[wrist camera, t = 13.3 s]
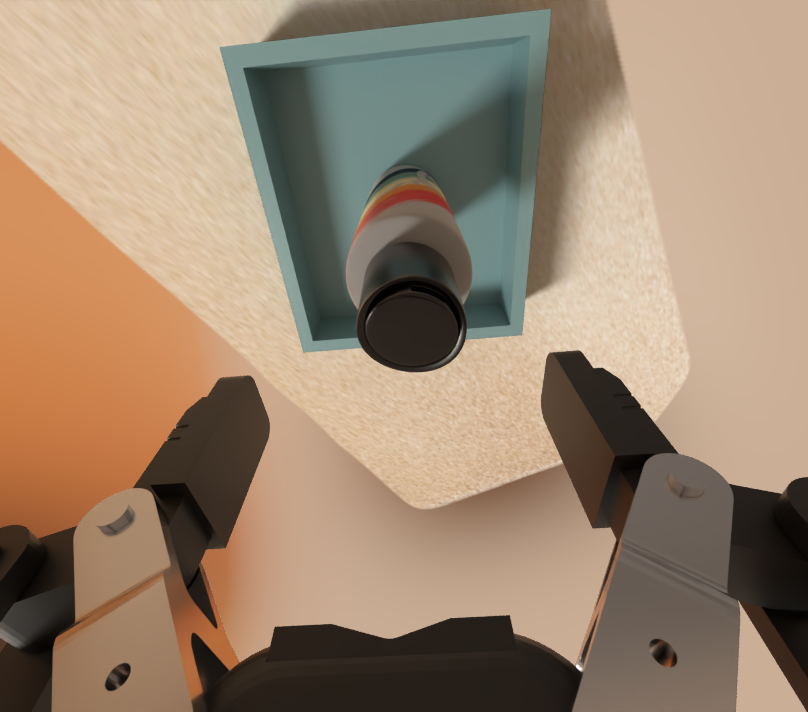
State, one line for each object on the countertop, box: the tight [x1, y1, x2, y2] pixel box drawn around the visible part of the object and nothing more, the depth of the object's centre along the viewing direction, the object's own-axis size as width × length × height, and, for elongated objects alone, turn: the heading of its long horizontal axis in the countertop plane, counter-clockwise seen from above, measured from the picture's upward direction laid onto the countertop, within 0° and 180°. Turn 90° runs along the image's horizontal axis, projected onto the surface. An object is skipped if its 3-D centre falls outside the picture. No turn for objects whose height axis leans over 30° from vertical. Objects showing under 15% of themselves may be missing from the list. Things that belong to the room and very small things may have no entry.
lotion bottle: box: [346, 165, 473, 372], centre depth 21 cm, size 6×6×20 cm
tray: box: [220, 9, 551, 352], centre depth 28 cm, size 20×18×5 cm
